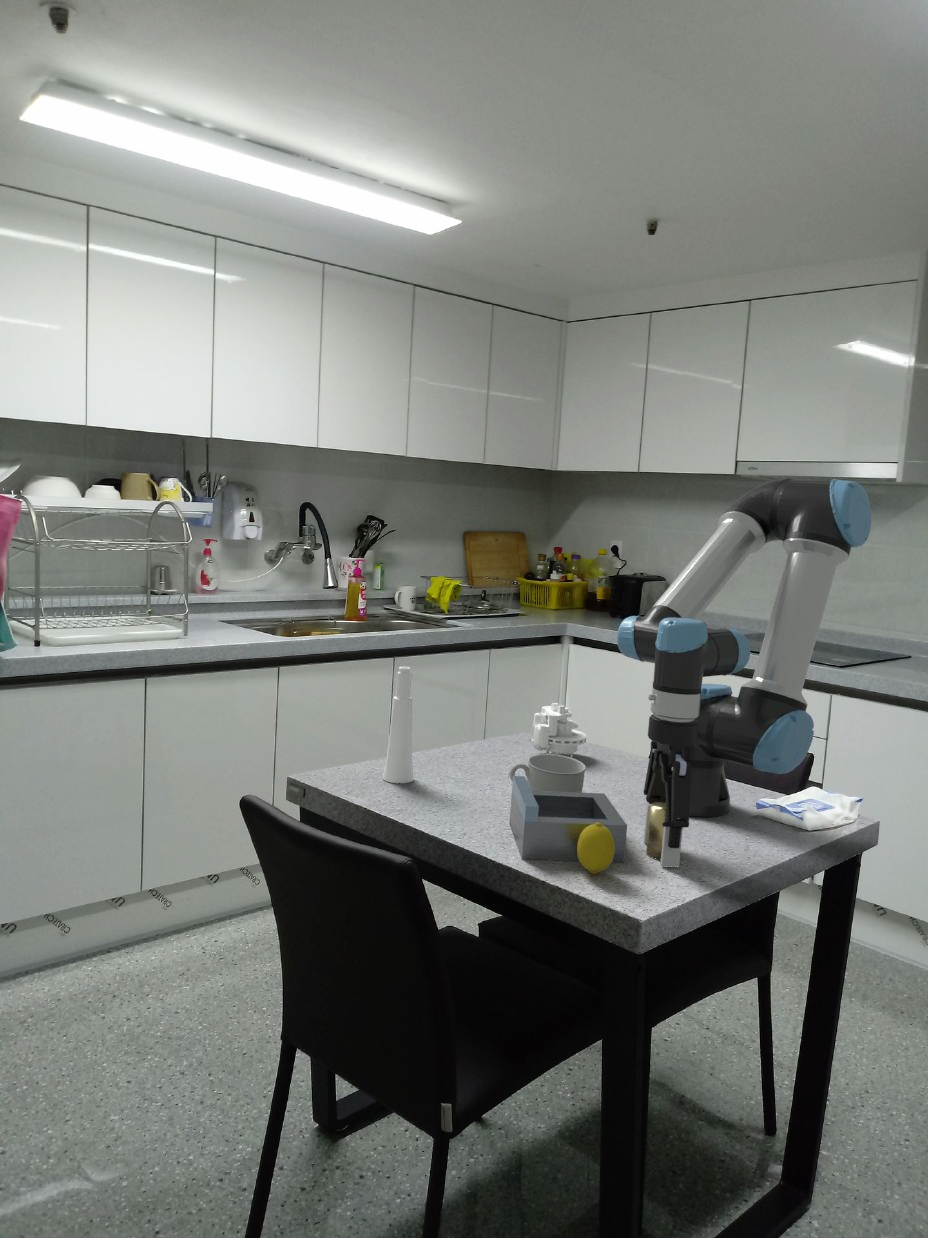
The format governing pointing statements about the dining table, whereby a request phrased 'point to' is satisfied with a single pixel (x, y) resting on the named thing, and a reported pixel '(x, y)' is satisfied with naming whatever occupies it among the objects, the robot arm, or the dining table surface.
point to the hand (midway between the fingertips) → (660, 854)
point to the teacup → (552, 773)
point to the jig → (560, 821)
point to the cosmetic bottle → (400, 732)
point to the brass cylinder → (656, 829)
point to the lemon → (596, 848)
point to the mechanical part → (556, 731)
